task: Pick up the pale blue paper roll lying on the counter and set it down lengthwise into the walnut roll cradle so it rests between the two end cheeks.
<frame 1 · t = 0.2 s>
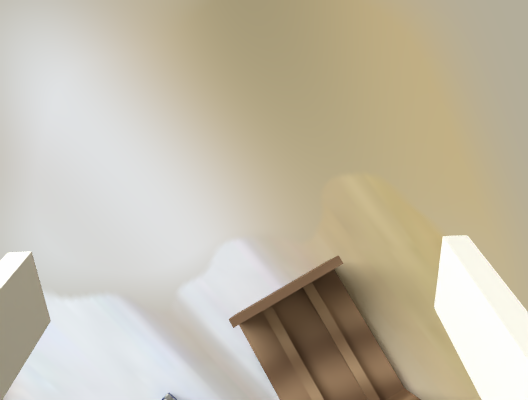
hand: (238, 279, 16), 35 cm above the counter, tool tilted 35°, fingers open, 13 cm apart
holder: (319, 353, 49), on the counter
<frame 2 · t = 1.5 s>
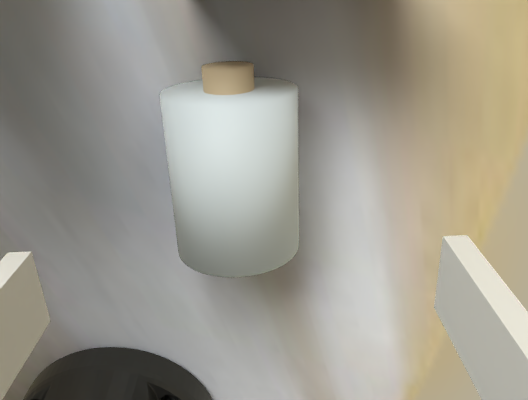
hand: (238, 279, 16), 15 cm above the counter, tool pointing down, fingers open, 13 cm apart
roll: (248, 151, 30), on the counter, tilted 12°
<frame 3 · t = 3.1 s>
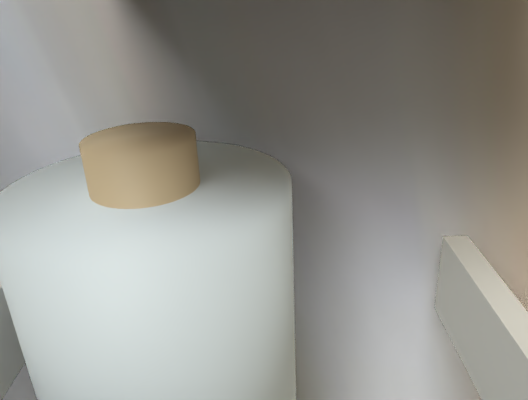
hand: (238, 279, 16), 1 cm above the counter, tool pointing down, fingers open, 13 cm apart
roll: (235, 272, 16), on the counter, tilted 29°
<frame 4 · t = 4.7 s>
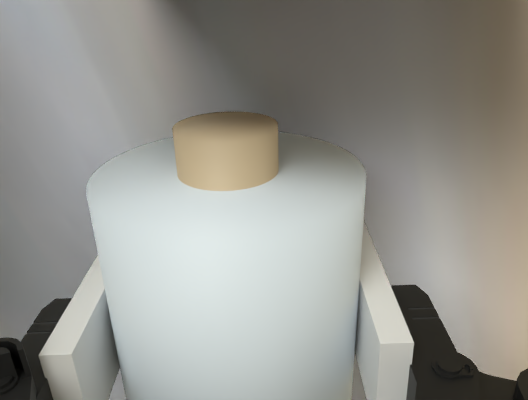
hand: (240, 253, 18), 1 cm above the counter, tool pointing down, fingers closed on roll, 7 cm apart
roll: (214, 253, 18), point 1 cm above the counter, tilted 17°, touching gripper
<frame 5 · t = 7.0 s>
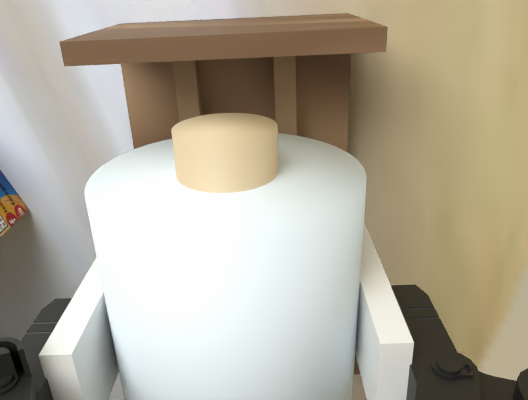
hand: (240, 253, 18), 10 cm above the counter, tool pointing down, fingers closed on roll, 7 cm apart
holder: (243, 164, 27), on the counter
roll: (214, 254, 18), point 10 cm above the counter, tilted 15°, touching gripper
when the fingers open (2 cm above the counter, at t = 8.9 s): roll stays where it is, resting on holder.
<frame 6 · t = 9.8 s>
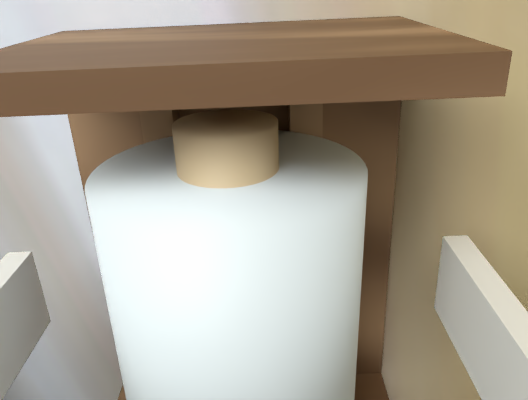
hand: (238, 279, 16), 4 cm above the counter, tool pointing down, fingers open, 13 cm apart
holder: (243, 227, 19), on the counter
roll: (215, 253, 18), point 2 cm above the counter, tilted 16°, touching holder
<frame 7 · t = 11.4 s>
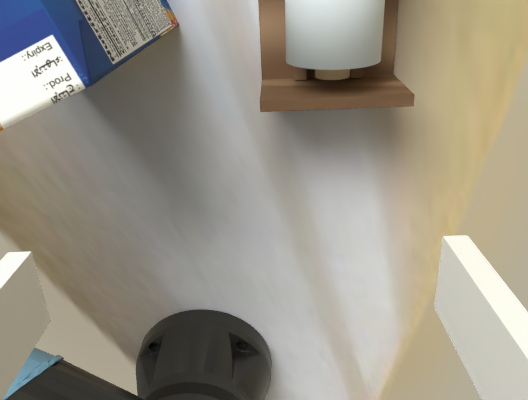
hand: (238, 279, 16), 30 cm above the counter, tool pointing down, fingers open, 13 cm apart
beverage box: (102, 13, 41), on the counter
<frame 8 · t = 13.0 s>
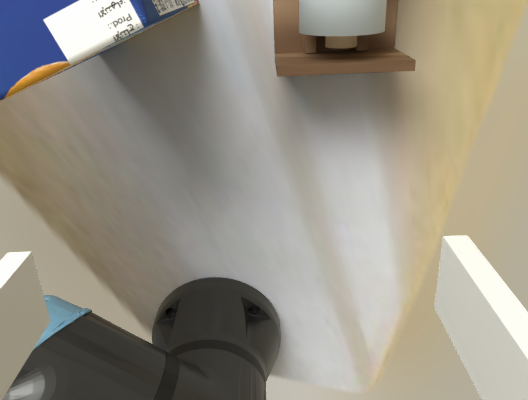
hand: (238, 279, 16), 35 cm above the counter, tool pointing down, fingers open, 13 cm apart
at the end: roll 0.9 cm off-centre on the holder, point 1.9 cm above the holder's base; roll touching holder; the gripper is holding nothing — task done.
